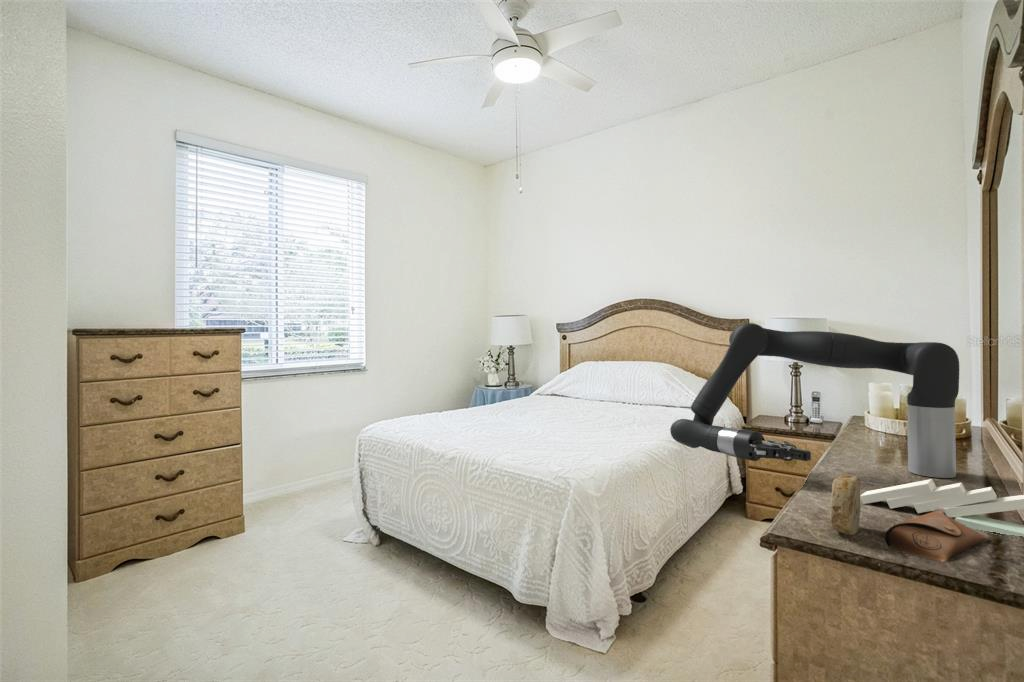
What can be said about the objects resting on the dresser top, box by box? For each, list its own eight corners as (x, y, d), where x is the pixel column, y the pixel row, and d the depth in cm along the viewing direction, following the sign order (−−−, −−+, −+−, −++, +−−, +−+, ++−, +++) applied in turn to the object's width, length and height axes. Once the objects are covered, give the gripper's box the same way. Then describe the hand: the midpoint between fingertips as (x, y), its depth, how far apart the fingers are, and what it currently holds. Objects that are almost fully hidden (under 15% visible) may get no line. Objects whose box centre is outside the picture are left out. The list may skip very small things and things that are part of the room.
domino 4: (943, 509, 93) (1029, 498, 85) (943, 505, 96) (1025, 494, 89) (947, 517, 92) (1034, 507, 85) (947, 513, 96) (1030, 503, 89)
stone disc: (840, 521, 93) (839, 468, 93) (864, 526, 90) (863, 471, 90) (826, 537, 85) (825, 479, 85) (852, 543, 83) (851, 483, 83)
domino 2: (886, 500, 99) (959, 486, 92) (890, 496, 103) (961, 482, 95) (890, 508, 99) (964, 495, 91) (894, 504, 102) (966, 490, 95)
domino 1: (859, 496, 103) (927, 483, 95) (865, 491, 106) (931, 478, 98) (863, 504, 102) (931, 492, 94) (869, 498, 106) (936, 486, 98)
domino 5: (954, 518, 91) (1050, 539, 81) (963, 512, 93) (1057, 532, 83) (954, 526, 91) (1050, 549, 81) (963, 521, 93) (1057, 542, 83)
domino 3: (913, 504, 96) (991, 490, 89) (916, 500, 100) (991, 486, 92) (917, 513, 95) (996, 499, 88) (920, 509, 99) (996, 495, 92)
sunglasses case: (949, 563, 75) (920, 519, 78) (901, 572, 80) (877, 529, 83) (992, 539, 84) (966, 499, 87) (948, 548, 89) (924, 510, 92)
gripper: (724, 431, 126) (793, 443, 111) (755, 426, 133) (823, 437, 118) (724, 460, 126) (793, 476, 111) (755, 454, 133) (824, 468, 118)
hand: (809, 456), depth 114 cm, fingers closed
